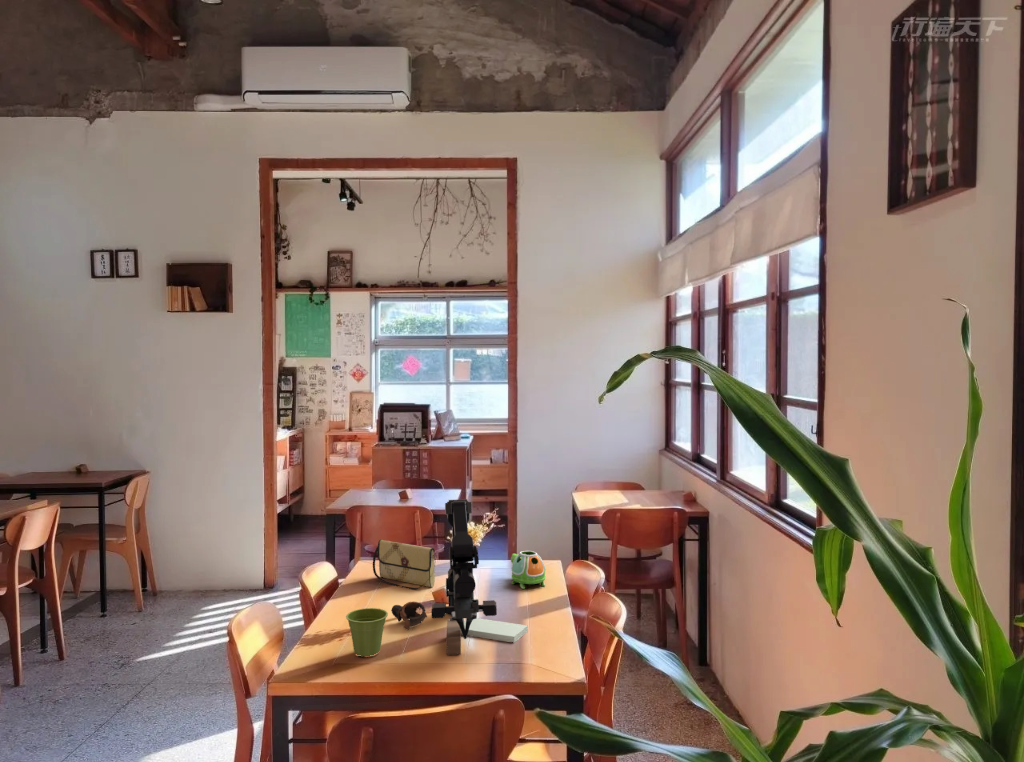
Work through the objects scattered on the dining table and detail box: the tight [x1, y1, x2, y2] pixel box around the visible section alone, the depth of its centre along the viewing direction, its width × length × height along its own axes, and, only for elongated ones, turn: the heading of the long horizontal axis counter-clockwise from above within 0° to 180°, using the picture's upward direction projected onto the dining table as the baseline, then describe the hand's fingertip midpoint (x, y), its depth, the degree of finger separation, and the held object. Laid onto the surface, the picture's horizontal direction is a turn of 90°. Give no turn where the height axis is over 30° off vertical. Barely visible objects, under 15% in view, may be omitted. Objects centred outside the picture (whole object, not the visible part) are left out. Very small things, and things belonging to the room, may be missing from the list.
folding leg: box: [445, 617, 462, 656], centre depth 216 cm, size 16×4×5 cm, turn 4°
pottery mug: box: [390, 601, 428, 630], centre depth 234 cm, size 12×10×8 cm
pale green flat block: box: [461, 617, 529, 644], centre depth 226 cm, size 20×10×2 cm, turn 65°
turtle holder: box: [510, 550, 546, 590], centre depth 276 cm, size 12×18×12 cm
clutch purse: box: [372, 539, 436, 590], centre depth 277 cm, size 30×7×15 cm, turn 57°
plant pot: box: [345, 607, 389, 657], centre depth 211 cm, size 12×12×11 cm
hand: (465, 638), depth 213 cm, fingers closed
